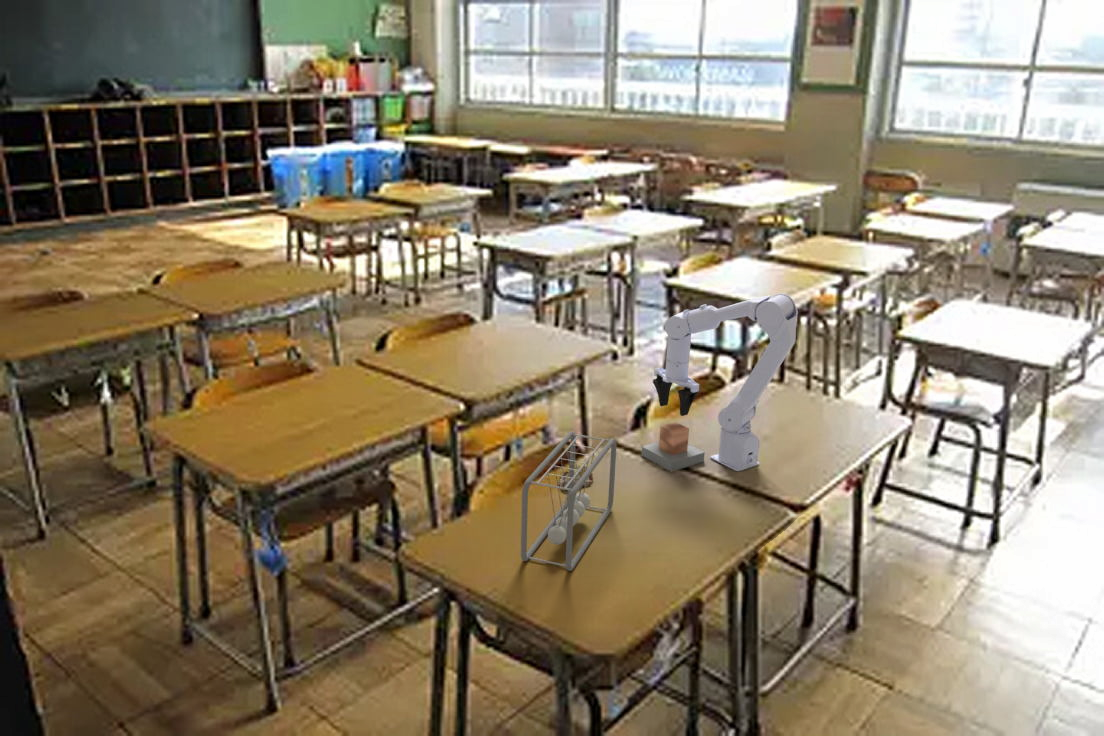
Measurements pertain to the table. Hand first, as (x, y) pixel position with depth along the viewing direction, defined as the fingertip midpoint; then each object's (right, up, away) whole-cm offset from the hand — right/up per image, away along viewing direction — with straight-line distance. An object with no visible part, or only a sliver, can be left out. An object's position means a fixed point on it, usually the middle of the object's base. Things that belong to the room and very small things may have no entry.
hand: (673, 410), depth 238 cm
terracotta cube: (-1, -9, -6) cm, 12 cm away
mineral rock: (-26, -16, -19) cm, 36 cm away
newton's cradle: (-28, -24, -43) cm, 57 cm away
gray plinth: (-1, -12, -6) cm, 13 cm away
